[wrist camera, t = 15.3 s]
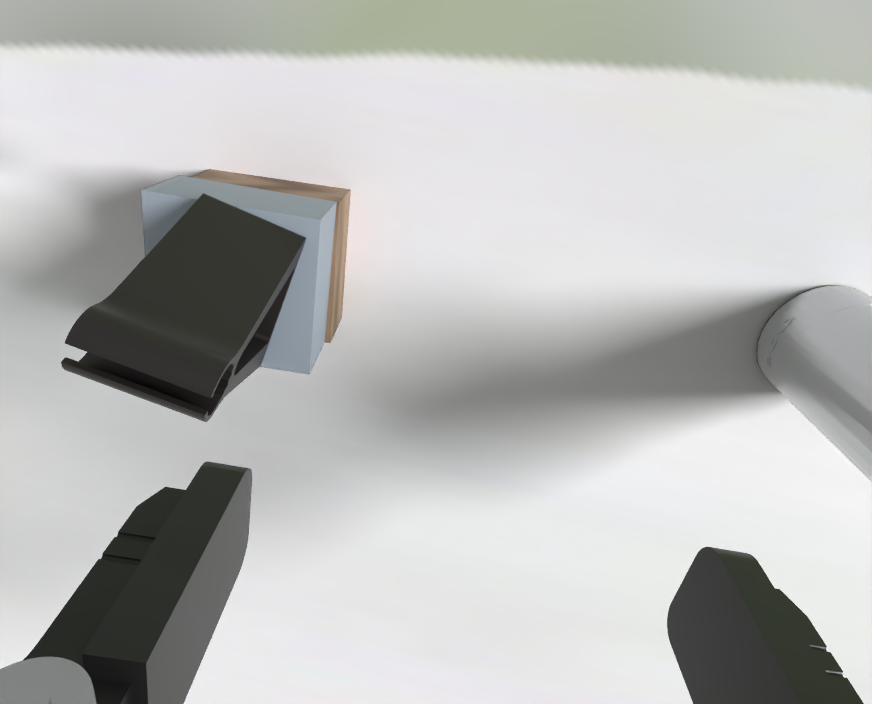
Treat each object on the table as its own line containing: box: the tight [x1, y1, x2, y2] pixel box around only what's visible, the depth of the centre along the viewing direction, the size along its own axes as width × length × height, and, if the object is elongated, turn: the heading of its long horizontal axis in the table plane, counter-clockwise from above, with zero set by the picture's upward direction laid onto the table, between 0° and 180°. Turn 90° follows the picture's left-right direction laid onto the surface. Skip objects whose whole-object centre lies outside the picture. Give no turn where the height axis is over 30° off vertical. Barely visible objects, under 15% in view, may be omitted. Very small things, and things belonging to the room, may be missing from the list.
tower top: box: [141, 175, 337, 374], centre depth 37 cm, size 10×10×5 cm
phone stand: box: [61, 193, 306, 422], centre depth 29 cm, size 9×6×12 cm, turn 155°
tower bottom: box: [192, 169, 351, 343], centre depth 41 cm, size 10×10×5 cm
